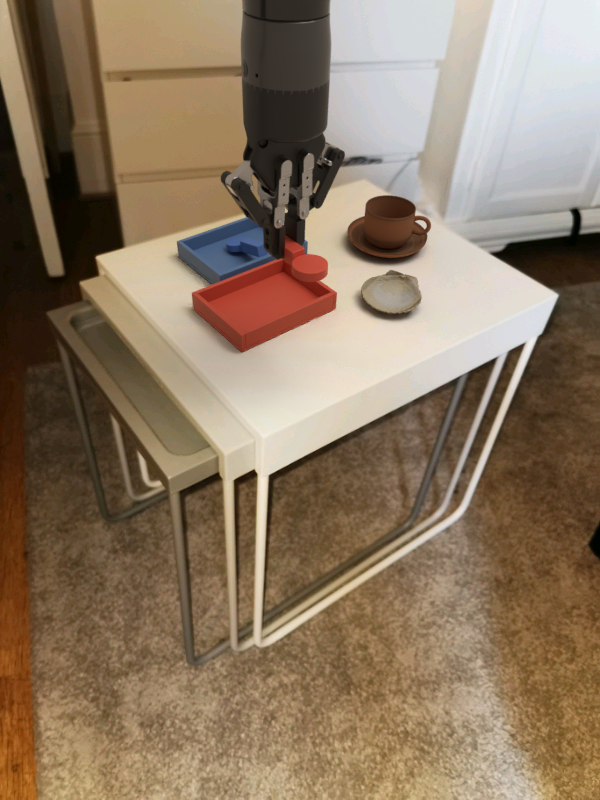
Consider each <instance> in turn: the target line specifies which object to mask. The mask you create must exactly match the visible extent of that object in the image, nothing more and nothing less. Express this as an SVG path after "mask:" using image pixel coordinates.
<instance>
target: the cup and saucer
mask: <svg viewBox="0 0 600 800" xmlns="http://www.w3.org/2000/svg"><path fill="white" fill-rule="evenodd" d="M416 213H417V207H416V205H415V204H414V203H413V202H412V201H411V200H409V199H407V198H405V197H402V196H399V195H391V194H388V195H387V194H383V195H377V196H374V197H371V198H369V199H368V200H367V201H366V203H365V209H364V215H363V216H360V217H358V218H355V219H354V220H352V221H351V222H350V224H349V225H348V227H347V230H346V231H347V237H348V239H349V242H350V243H351V244H353V245H354V247H355V248H357V249H358V250H360V251H361V252H363V253H365V254H368V255H369V256H374V257H380V258H385V259H386V258H388V259H392V258H393V259H396V258H397V259H399V258H404V257H408V256H411V255H414V254H415V253H417V252H419V251H420V250H422V249H423V248H424V247H425V245H426V244H427V240H428V233H429V232H430V231H431V228H432V222H431V220H430V219H429V218H428V217H426V216H424V215H416ZM418 221H421V222H425V224H426V227H425V228H424V227H423V226H422V225H421V224H420V223H418Z"/></svg>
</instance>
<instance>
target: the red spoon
mask: <svg viewBox="0 0 600 800" xmlns="http://www.w3.org/2000/svg"><path fill="white" fill-rule="evenodd" d="M282 259H283V260H284V261H286V262H287V263H288V264H290V265H291V266H292V274H293V276H294V277H295V278H297V279H298V280H301V281H305V282H316V281H323V280H324V279H325V278H326V277H327V276H328V273H329V262H328V260H327V259H326V258H325V257H323V256H321V255H318V254H313V253H307V254H305V248H304V247H302V246H301V245H299V244H298V243H296V242H295V241H293V240H292V239H290V238H289V237H287V236H286V235H285V248H284V258H282Z"/></svg>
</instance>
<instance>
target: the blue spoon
mask: <svg viewBox="0 0 600 800" xmlns="http://www.w3.org/2000/svg"><path fill="white" fill-rule="evenodd" d="M226 245H227V250H228V251H229V252H241V251H242V252H244V253H247V254H250V255H253V256H256V257H262V256H264V255H267V254H268V252H267V251H266V250H265V249H264V246H263V242H260V241H257V240H254V239H251V238H248V237H239V238H234V239H231V240H229V241H227V242H226Z"/></svg>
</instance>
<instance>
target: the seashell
mask: <svg viewBox="0 0 600 800" xmlns="http://www.w3.org/2000/svg"><path fill="white" fill-rule="evenodd" d="M360 292H361V297H362V300H364V302H365V303H367V305H368V306H370V307H371V308H372V309H375V310H376V311H377V312H378V311H379V312H381V313H386V314H387V315H389V314H390V315H391V314H392V315H397V314H398V315H402V314H407V313H408V312H412V311H413V310H416V309H417V307H419V306H420V304H421V303H422V297H423V296H422V293H421V290H420V287H419V279H418V278H417V277H416V276H413V275H410V274H406V273H405V274H404V273H402V272H399V271H397V270H394V269H389V270H388V271H387V272H386V273H385V274H381V275H377V276H372V277H370V278H368V279H366V280H365V281H364V282H363V284H362V286H361V288H360Z"/></svg>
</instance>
